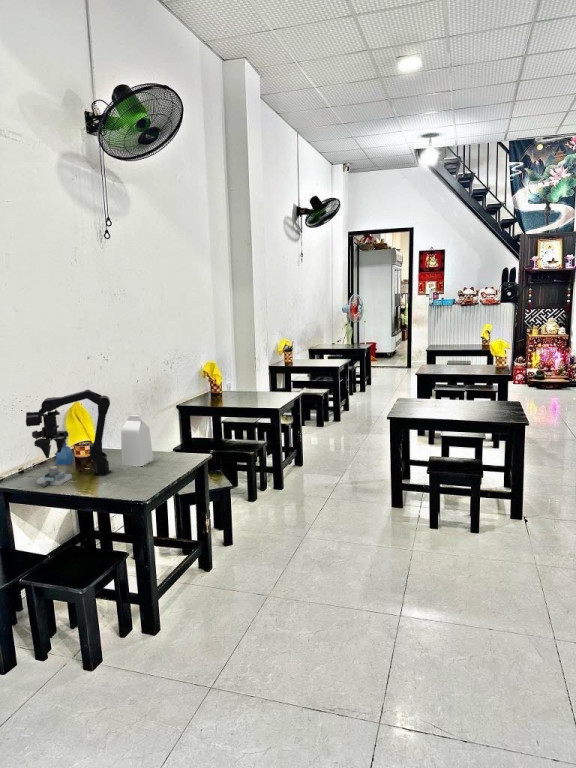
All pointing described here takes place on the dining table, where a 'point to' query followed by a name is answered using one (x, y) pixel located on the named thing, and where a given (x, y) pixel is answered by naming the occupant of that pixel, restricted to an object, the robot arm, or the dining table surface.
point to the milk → (136, 442)
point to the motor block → (54, 479)
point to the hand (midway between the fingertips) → (53, 455)
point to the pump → (53, 471)
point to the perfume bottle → (64, 456)
